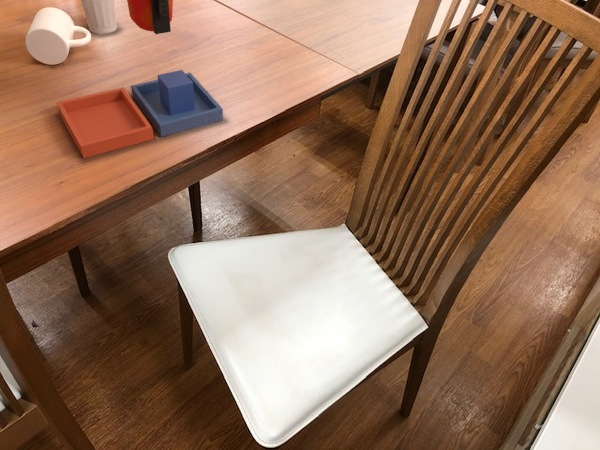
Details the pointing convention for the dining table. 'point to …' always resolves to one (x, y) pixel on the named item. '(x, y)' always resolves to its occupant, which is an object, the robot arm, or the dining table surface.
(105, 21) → the cup
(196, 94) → the blue tray
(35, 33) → the mug
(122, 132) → the red tray
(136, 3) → the apple
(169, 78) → the block
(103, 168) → the dining table surface
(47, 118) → the dining table surface
